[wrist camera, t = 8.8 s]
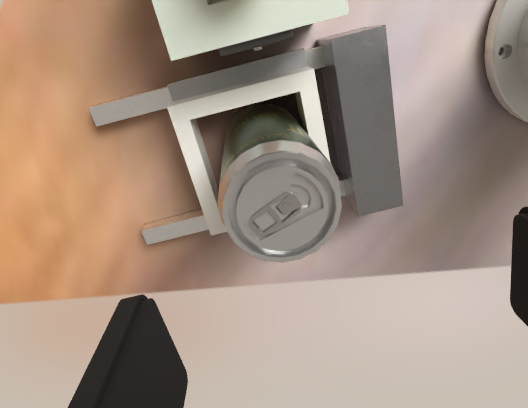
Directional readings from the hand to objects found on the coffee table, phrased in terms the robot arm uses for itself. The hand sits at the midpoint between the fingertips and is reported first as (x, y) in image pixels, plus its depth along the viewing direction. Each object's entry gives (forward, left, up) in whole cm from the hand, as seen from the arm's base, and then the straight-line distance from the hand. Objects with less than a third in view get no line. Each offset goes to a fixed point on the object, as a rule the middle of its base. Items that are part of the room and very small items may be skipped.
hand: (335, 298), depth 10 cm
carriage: (+1, 0, -16) cm, 16 cm away
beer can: (+1, 0, -18) cm, 18 cm away
